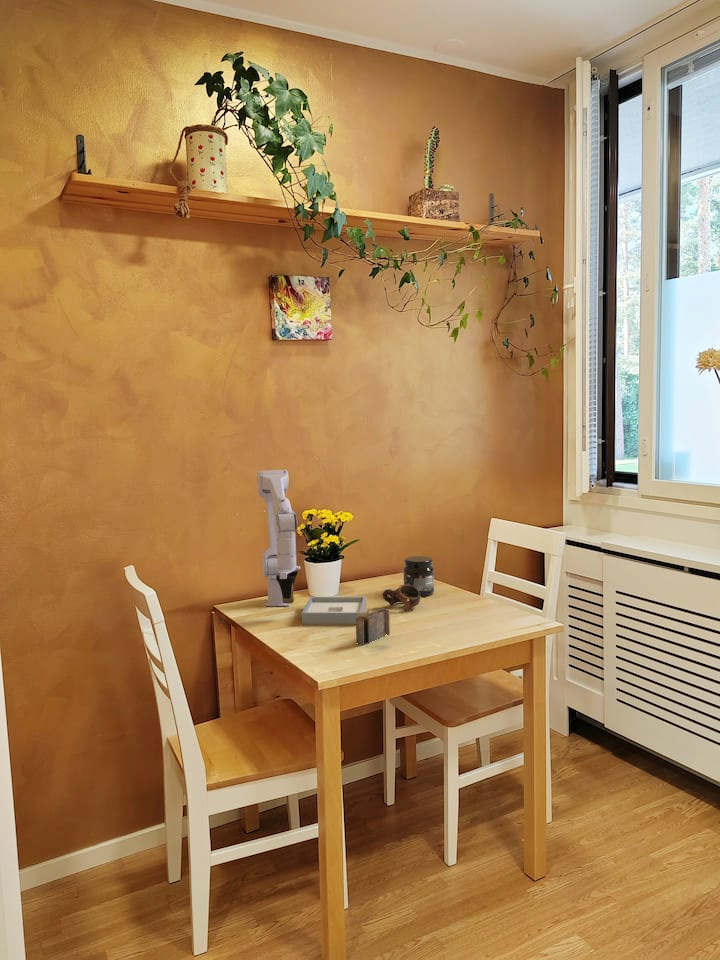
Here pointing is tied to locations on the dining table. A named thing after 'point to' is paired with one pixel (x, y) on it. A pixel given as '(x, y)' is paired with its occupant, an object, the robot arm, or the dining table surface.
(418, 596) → the rusty metal pipe clamp
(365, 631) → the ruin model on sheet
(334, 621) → the crate
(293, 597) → the peg
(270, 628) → the dining table surface
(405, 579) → the supplement container
